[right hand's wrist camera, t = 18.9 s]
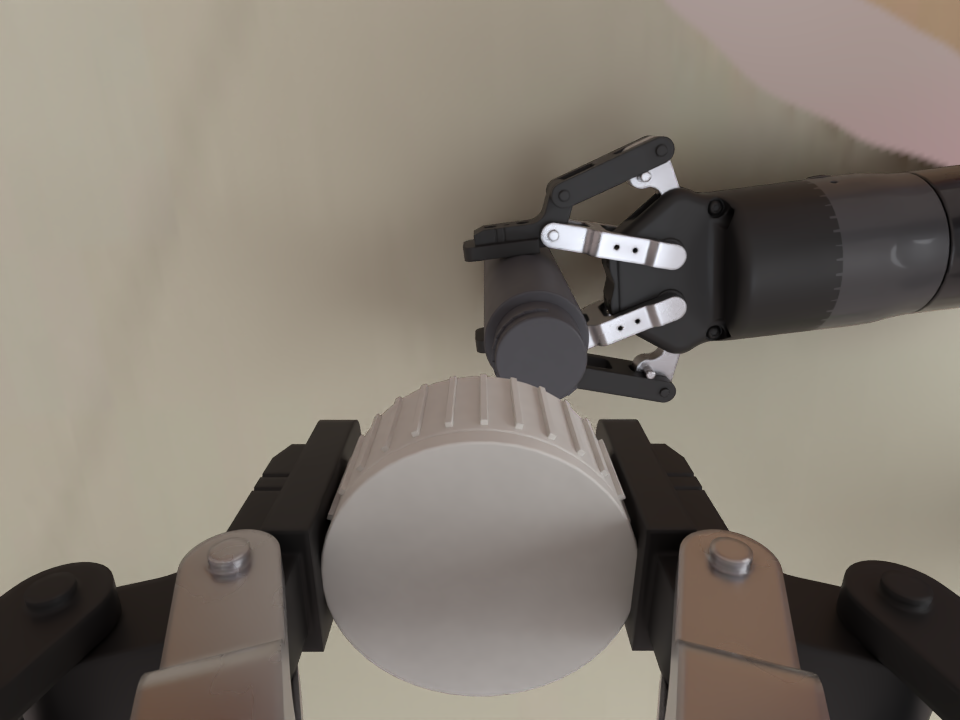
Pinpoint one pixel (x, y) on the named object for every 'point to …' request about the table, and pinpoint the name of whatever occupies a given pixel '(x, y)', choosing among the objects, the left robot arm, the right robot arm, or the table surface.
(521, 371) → the dark cylinder
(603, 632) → the lid
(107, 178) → the table surface
